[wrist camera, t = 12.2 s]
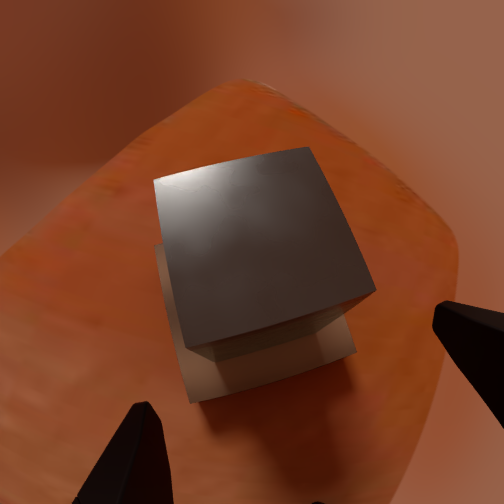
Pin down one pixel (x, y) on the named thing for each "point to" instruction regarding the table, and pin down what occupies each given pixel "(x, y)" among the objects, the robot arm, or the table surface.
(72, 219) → the table surface
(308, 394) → the table surface
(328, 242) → the tea tin
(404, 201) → the table surface
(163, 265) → the walnut block
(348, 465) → the table surface
